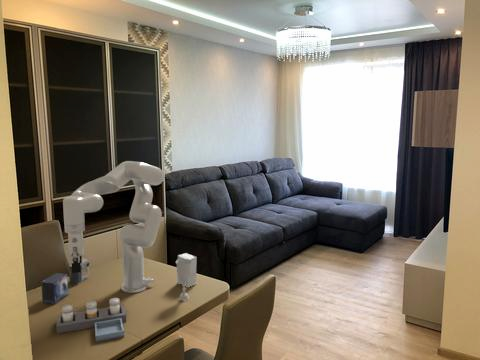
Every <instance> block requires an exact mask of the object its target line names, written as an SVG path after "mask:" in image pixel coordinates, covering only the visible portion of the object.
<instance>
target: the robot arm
mask: <svg viewBox="0 0 480 360" xmlns="http://www.w3.org/2000/svg"><path fill="white" fill-rule="evenodd" d="M163 180H164V172H163V170H162V169H161V168H159V167H158V166H155V165H151V164H148V163H145V162H142V161H133V160H126V161H123V162H121V163H119V164H118V165H117V166H115V167H114V168H113V169H112V170H111V171H109V172H108V173H106V174H105V175H104V176H100V177H98V178H96V179H94V180H92V181H87V182H86V183H84V184H82V185H81V186H79V187H78V188H77V189H76V190H75V191H73V192H72V193H71V195H70V196H66V197H64V198H63V200H62V206H63V207H62V208H63V210H62V211H63V222H64V223H63V224H64V233H66V234H67V236H68V237H67V239H68V249H69V256H70V258H71V265H72V273H78V272H81V265H80V264H81V263H82V259H83V258H82V257H83V256H84V253H85V247H84V246H85V244H84V234H83V233H84V232H85V231H86V227H85V226H86V225H85V214H86V213H95V212H99V211H100V210H101V209H102V208H103V206H104V199H103V197H102V195H107V194H112V193H116V192H118V191H119V190H120V189H122V188H123V187H124V186H125V185H126V184H127V183H129V182H130V181H132V182H133V185H134V188H135V193H134V194H135V195H134V198H133V201H132V204H131V208H130V211H129V219H130V220H131V222H133V223H139V224H143V226H142V225H137V224H131V223H130V224H126V225H124V226H123V227H122V228H121V229H120V231H119V239H120V242H121V249H122V265H123V266H122V267H123V283H122V284H121V286H120V289H121V291H122V292H124V293H128V294H135V293H140V292H143V291H145V290H146V289H148V286H149V285H148V284H150V283H154V282H155V278H153V277H152V278H151V277H149V276H148V277H145V262H144V261H145V260H144V250H143V248H145V249H146V248H150V247H152V246H153V245H154V243H155V241H156V239H157V236H158V232H159V228H160V225H161V222H162V218H163V217H162V214H163V213H162V209H161V208H160V207H159V206H158V205H155V204H152V202H153V198H154V197H153V196H154V194H153V193H154V192H153V188H152V187H151V186H158V185H160V184H161V183H163Z"/></svg>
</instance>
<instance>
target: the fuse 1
mask: <svg viewBox="0 0 480 360" xmlns="http://www.w3.org/2000/svg"><path fill="white" fill-rule="evenodd" d="M73 308H74V307H73V305H72V304H67V305H63V306H62V307H61V313H62V314H61V315H63V323H66V322H72V321H73V313H74V312H73V311H74V309H73Z"/></svg>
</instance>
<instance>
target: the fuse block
mask: <svg viewBox="0 0 480 360" xmlns="http://www.w3.org/2000/svg"><path fill="white" fill-rule="evenodd" d="M119 307H120V314H114V315H110V306H107V307H103V308H97V317H96V318H90V319H87V310H83V311H77V312H73V321H72V322H66V323H63V315H62V314H58V315H57V320H56V325H55V326H56V334H61V333H68V332H73V331H80V330H83V329H90V328H95V323H96V322H102V321H108V320H114V319H119V318H122V323H125V322H127V312H126V308H125V305H124V304H121V305H120V304H119Z"/></svg>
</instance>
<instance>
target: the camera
mask: <svg viewBox="0 0 480 360" xmlns="http://www.w3.org/2000/svg"><path fill="white" fill-rule="evenodd" d="M80 265H81V272H78V273H72V264H70V265H69V267H68V274H69V277H68V279H69V284H70V285H72V286H78V285H80V284H81V283H83V281H85V280H86V279H88V278H89V277H90V271H89V270H90V269H89V267H90V261H89V259H87V258H82V263H81V264H80Z"/></svg>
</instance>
